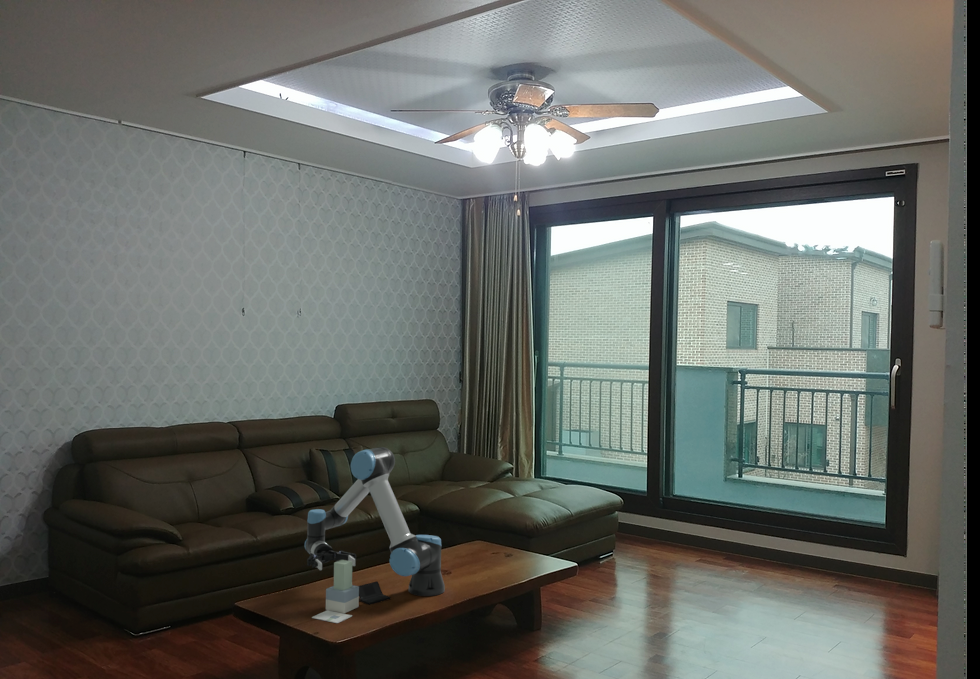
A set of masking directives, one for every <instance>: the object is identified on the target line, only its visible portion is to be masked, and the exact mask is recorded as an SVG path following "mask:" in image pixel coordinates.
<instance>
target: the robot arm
mask: <svg viewBox="0 0 980 679" xmlns="http://www.w3.org/2000/svg"><path fill="white" fill-rule="evenodd" d="M395 457H396V456H395V455H394V453H393V452H392V450H390V449H389V448H387V447H381V446H380V447H378V446H377V447H374V448H367V449H363V450H360V451H358V452H356V453H355V454H354V455H353V457H352V459H351V461H350V471H351V474H352V475H353V477H354V478H355V479H357V480H356V481H355V482H353V483H352V485H351V486H350V487H349V489H348V490H347V491H345V493H344V494H343V495H342V497H340V499H339V500H338V501H337V502H336V503H335V504H334V506H332V507H331V509H330V510H328V511H325V509H319V508H316V509H310V510H309V511H308V512H307V521H306V522H307V523H306V524H307V525H306V526H307V531H306V532H307V533H306V540H305V541H304V549H305V551H306V552H307V553H308V554H309V556H308V558H307V559H306V562H307V564H306V565H307V567H310V566H311V568H317V569H318V570H319V571H322V570H323V564H326V563H328V562H330V561H335V562H337V561H340V560H347V561H352V567H356V561H357V554H356V553H353V552H348V551H344V550H342V549H339V551H334V549H333V547H332V546H331V545H329V544H328V543H327V542H326V530H329V529H333V528H337V527H341V526H342V525H344V524H346V523H347V522H348V518H349V516H350V514H351V513H352V512H353V511H354V510H355V509H356V507H357V506H358V505H359V504H360V503H361V502H362V501H363V500H364V499H365V498H366V497H367V496H368V494H369V493H370V496H371V498H372V500H373V503H374V505H375V508H376V509H377V512H378V514H379V517H380V519H381V521H382V523H383V524H382V525H383V526H384V529H385V532H386V533H387V535H388V538H389V540H390V545H389V550H390V555H389V557H390V558H389V565H390V567H391V569H392V570H393V572H394V573H395V574H397V575H399V576H401V577H410V576H411V577H410V580H409V584H408V593H410V594H411V595H415V596H419V597H433V596H439V595H442V594H443V593H445V592H446V590H445V589H446V588H445V587H446V586H445V582H444V578H443V574H442V571H441V570H442V569H441V568H442V539H441V538H440V537H439V536H438V535H429V534H416V535H415V534H413V533H411V531H410V529H409V527H408V524H407V522H406V519H405V517H404V515H403V512H402V509H401V508H400V505H399V502H398V500H397V498H396V495H395V494H394V492H393V489H392V487H391V484H390V482H389V477H390V473H391V472H392V470H393V469H394V467H395V464H396V459H395Z"/></svg>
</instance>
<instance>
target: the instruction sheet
mask: <svg viewBox="0 0 980 679" xmlns="http://www.w3.org/2000/svg"><path fill="white" fill-rule="evenodd" d="M351 617H353V615H352V614H346V613H339V612H335V611H330V610H324V611H323V612H320V613H318V614H316V615H313V616H311V619H315V620H319V621H325V622H330V623H335V624H339V623H341V622H344V621H346V620H347V619H349V618H351Z"/></svg>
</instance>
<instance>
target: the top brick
mask: <svg viewBox="0 0 980 679" xmlns="http://www.w3.org/2000/svg"><path fill="white" fill-rule="evenodd" d="M352 585H353V565H352V561H347V560H337V561H335V562H333V586H334V589H339V590H346V589H349V588H351V587H352Z"/></svg>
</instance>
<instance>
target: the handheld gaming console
mask: <svg viewBox="0 0 980 679" xmlns="http://www.w3.org/2000/svg"><path fill="white" fill-rule="evenodd" d="M358 586H359V601H360V603H364V604H365V605H369V606H371V605H374V604H377V603H381V601H382V602H385V601H388V600H391V596H389V595H386V594H383V591H382V589H381V586H380V583H379V582H378V581H373V582H368V583H365V584H361V585H358Z"/></svg>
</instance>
